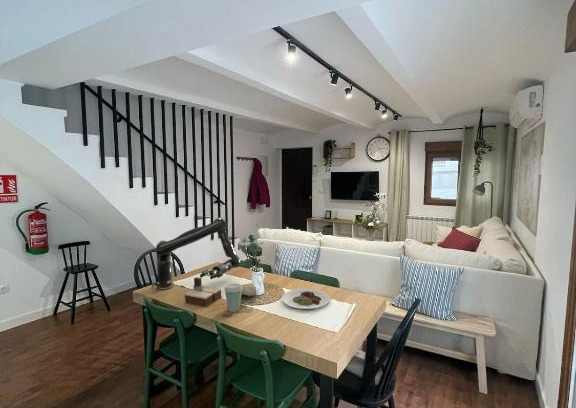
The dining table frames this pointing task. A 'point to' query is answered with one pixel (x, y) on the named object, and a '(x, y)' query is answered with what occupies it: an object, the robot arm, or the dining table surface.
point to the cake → (203, 296)
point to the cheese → (249, 290)
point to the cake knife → (198, 284)
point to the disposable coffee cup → (233, 296)
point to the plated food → (306, 298)
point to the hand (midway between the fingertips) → (205, 277)
